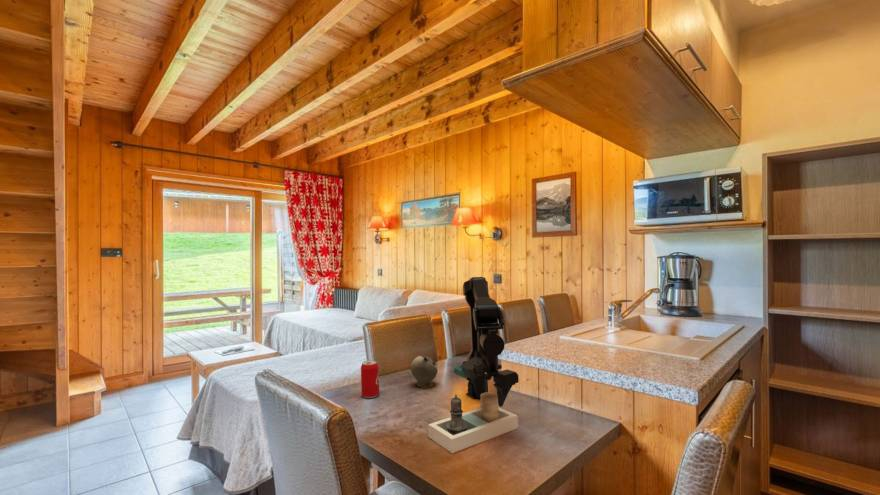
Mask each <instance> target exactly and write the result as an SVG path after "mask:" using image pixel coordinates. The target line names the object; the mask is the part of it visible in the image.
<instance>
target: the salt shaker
mask: <svg viewBox="0 0 880 495" xmlns="http://www.w3.org/2000/svg"><path fill="white" fill-rule="evenodd" d="M462 408H463V407H462V399H461V398H460V397H458V395H457V394H455V395H454V397H451V399H450V410H449V414H450V417H451V422H449V423H447V425H446V428H447V430H448V432H449V433H450V434H452V435H456V434H459V433H461V432H464V431H466V430H467V427H468V425H467V423H465V422H463V420H462V413H464V410H463V409H462Z"/></svg>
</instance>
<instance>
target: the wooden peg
mask: <svg viewBox="0 0 880 495" xmlns="http://www.w3.org/2000/svg"><path fill="white" fill-rule="evenodd" d="M480 396H481V399H480V408H481V419H482V420H484V421H486V422H488V423H490V422H493V421H495V420H498V419H499V410H498V407H499V405H498V396H497V392H492V391H491V392H490V391H488V392H485V393H482V394H481V395H480Z"/></svg>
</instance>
